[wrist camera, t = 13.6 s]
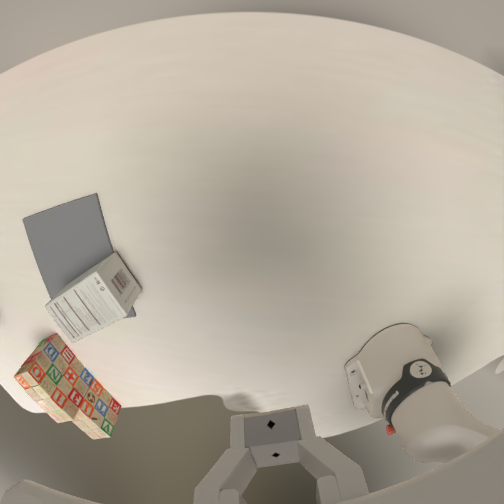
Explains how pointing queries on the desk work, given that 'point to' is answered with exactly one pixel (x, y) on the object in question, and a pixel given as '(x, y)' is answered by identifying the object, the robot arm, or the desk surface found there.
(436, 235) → the desk surface
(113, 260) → the supplement box
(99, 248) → the mat
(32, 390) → the stack of blocks
